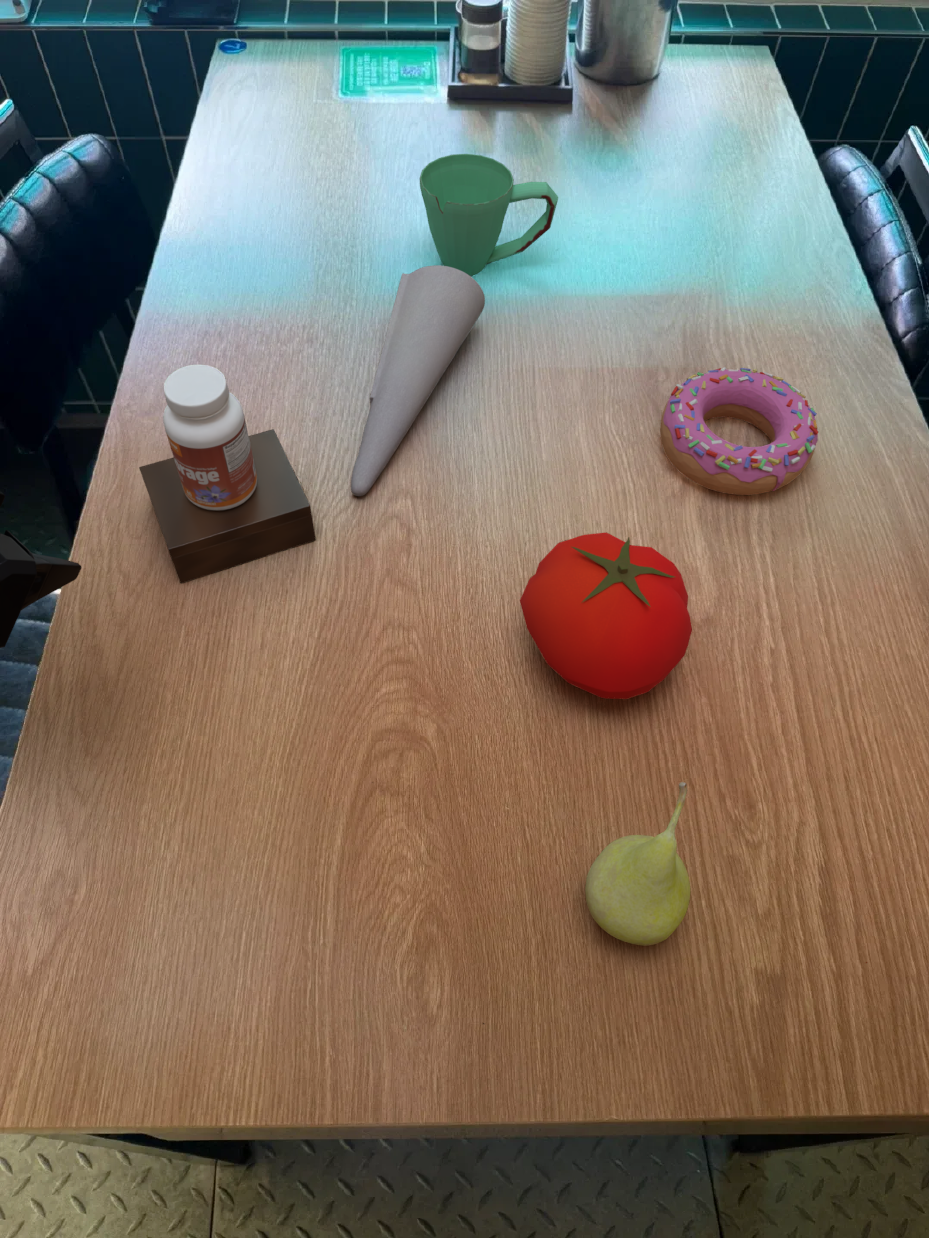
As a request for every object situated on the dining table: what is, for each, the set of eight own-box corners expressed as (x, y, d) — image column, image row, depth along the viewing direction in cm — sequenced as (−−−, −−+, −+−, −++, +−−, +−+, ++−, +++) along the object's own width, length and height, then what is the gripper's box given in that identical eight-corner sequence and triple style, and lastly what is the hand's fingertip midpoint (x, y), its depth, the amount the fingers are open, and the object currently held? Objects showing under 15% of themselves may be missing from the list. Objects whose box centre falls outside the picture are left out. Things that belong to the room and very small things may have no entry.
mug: (420, 289, 104) (419, 204, 95) (421, 237, 109) (420, 152, 101) (553, 291, 104) (563, 206, 96) (547, 239, 110) (556, 155, 102)
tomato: (709, 676, 75) (744, 597, 67) (584, 748, 71) (605, 674, 63) (608, 564, 82) (628, 479, 73) (489, 625, 78) (495, 542, 69)
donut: (634, 411, 93) (644, 371, 89) (767, 389, 95) (782, 349, 91) (690, 518, 85) (703, 479, 81) (834, 491, 87) (853, 452, 83)
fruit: (565, 932, 63) (589, 867, 54) (602, 835, 67) (630, 758, 58) (661, 974, 62) (703, 915, 52) (693, 872, 66) (737, 800, 56)
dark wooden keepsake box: (180, 583, 80) (168, 549, 76) (151, 502, 85) (138, 466, 81) (316, 540, 83) (310, 505, 79) (280, 464, 88) (273, 428, 84)
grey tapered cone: (440, 480, 81) (486, 271, 93) (341, 466, 81) (400, 259, 94) (440, 531, 88) (483, 329, 100) (349, 517, 88) (403, 318, 100)
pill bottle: (169, 495, 79) (134, 393, 70) (215, 450, 82) (187, 347, 73) (228, 524, 78) (200, 423, 68) (273, 477, 81) (252, 374, 72)
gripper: (-69, 471, 45) (172, 504, 59) (-246, 301, 52) (6, 366, 66) (-145, 661, 48) (101, 650, 62) (-302, 476, 55) (-50, 503, 69)
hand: (38, 534), depth 65 cm, fingers open, 9 cm apart
